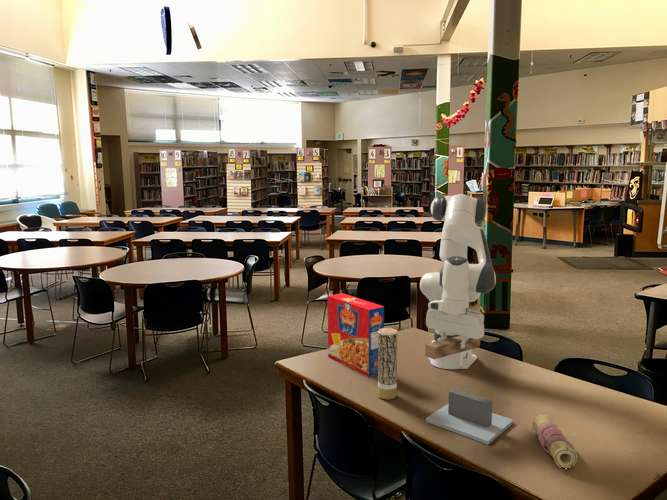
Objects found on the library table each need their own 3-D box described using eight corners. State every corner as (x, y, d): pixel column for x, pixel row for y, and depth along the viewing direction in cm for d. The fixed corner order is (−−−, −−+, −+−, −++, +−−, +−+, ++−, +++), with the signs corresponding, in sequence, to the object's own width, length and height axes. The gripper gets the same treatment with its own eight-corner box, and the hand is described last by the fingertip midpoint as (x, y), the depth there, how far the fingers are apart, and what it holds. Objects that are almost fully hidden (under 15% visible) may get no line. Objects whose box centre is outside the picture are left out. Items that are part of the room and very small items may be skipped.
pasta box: (328, 357, 231) (327, 295, 227) (342, 353, 236) (342, 293, 231) (368, 377, 209) (368, 309, 204) (383, 372, 213) (384, 306, 209)
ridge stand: (425, 421, 172) (426, 395, 171) (453, 403, 185) (454, 378, 184) (488, 444, 158) (489, 416, 156) (513, 423, 171) (514, 396, 169)
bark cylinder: (395, 401, 187) (396, 334, 183) (376, 399, 189) (377, 333, 185) (397, 393, 194) (398, 328, 190) (379, 391, 195) (379, 327, 191)
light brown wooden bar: (470, 343, 183) (471, 332, 183) (479, 347, 180) (480, 335, 179) (425, 355, 171) (425, 344, 170) (434, 359, 168) (434, 347, 167)
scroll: (524, 429, 164) (544, 465, 144) (535, 409, 163) (557, 442, 143) (546, 439, 164) (569, 476, 144) (557, 419, 163) (582, 454, 143)
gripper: (488, 309, 169) (486, 350, 171) (433, 299, 182) (432, 337, 184) (479, 313, 164) (477, 355, 166) (424, 302, 178) (423, 341, 180)
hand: (453, 345), depth 175 cm, fingers closed on light brown wooden bar, 4 cm apart
